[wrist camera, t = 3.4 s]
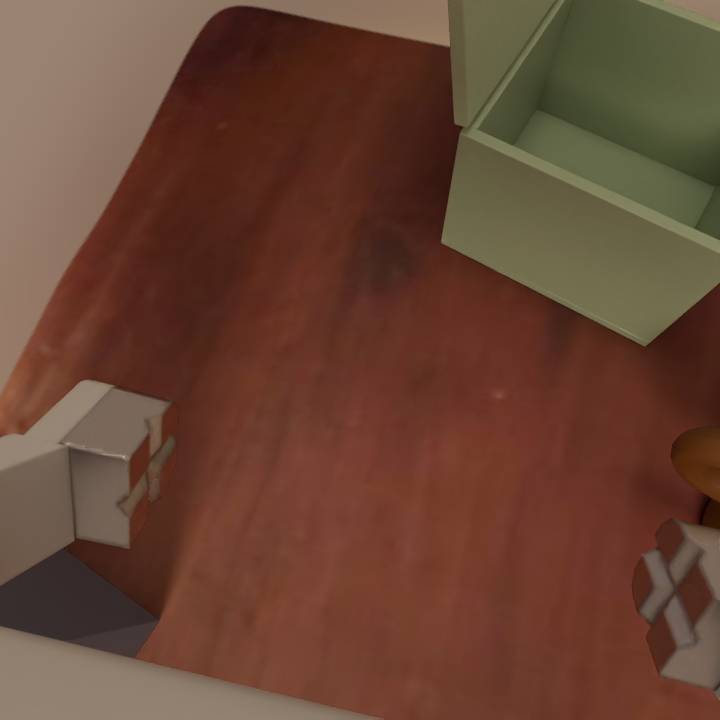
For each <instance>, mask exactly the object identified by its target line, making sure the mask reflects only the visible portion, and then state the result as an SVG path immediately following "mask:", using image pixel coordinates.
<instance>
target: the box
mask: <svg viewBox="0 0 720 720" xmlns="http://www.w3.org/2000/svg"><path fill="white" fill-rule="evenodd" d="M441 243H442V244H444V245H446V246H448V247H450V248H452V249H454V250H456V251H458V252H460V253H462V254H464V255H466V256H468V257H470V258H472V259H474V260H476V261H478V262H480V263H482V264H484V265H486V266H488V267H490V268H492V269H493V270H495V271H497V272H499V273H501V274H503V275H505V276H507V277H509V278H511V279H513V280H515V281H517V282H519V283H521V284H523V285H525V286H527V287H529V288H531V289H533V290H535V291H537V292H539V293H541V294H543V295H544V296H546V297H548V298H550V299H552V300H554V301H556V302H558V303H560V304H562V305H564V306H566V307H568V308H570V309H572V310H574V311H576V312H578V313H580V314H582V315H584V316H586V317H588V318H590V319H592V320H594V321H596V322H597V323H599V324H601V325H603V326H605V327H607V328H609V329H611V330H613V331H615V332H617V333H619V334H621V335H623V336H625V337H627V338H629V339H631V340H633V341H635V342H637V343H639V344H641V345H643V346H646V345H648V344H649V343H650V342H651V341H652V340H653V339H655V338H656V337H657V336H658V335H659V334H660V333H662V332H663V331H664V330H665V329H666V328H667V327H669V326H670V325H671V324H672V323H673V322H674V321H676V320H677V319H678V318H679V317H680V316H681V315H683V314H684V313H685V312H686V311H687V310H688V309H690V308H691V307H692V306H693V305H694V304H695V303H697V302H698V301H699V300H700V299H701V298H702V297H703V296H705V295H706V294H707V293H708V292H709V291H710V290H712V289H713V288H714V287H715V286H716V285H717V284H719V283H720V22H718V21H716V20H713V19H710V18H707V17H705V16H702V15H700V14H697V13H694V12H692V11H689V10H686V9H684V8H681V7H679V6H676V5H673V4H670V3H668V2H665V1H663V0H555V1H554V3H553V4H552V6H551V7H550V8H549V10H548V11H547V13H546V14H545V16H544V17H543V19H542V20H541V21H540V23H539V24H538V26H537V27H536V29H535V30H534V32H533V33H532V35H531V36H530V37H529V39H528V40H527V42H526V43H525V45H524V46H523V48H522V49H521V51H520V52H519V53H518V55H517V56H516V58H515V59H514V61H513V62H512V64H511V65H510V66H509V68H508V69H507V71H506V72H505V74H504V75H503V77H502V78H501V80H500V81H499V82H498V84H497V85H496V87H495V88H494V90H493V91H492V93H491V94H490V96H489V97H488V98H487V100H486V101H485V103H484V104H483V106H482V107H481V109H480V110H479V111H478V113H477V114H476V116H475V117H474V119H473V120H472V122H471V123H470V125H469V126H468V127H464V128H463V129H462V131H461V132H460V135H459V141H458V147H457V152H456V158H455V164H454V170H453V175H452V181H451V187H450V193H449V198H448V204H447V210H446V216H445V221H444V227H443V233H442V239H441Z"/></svg>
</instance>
